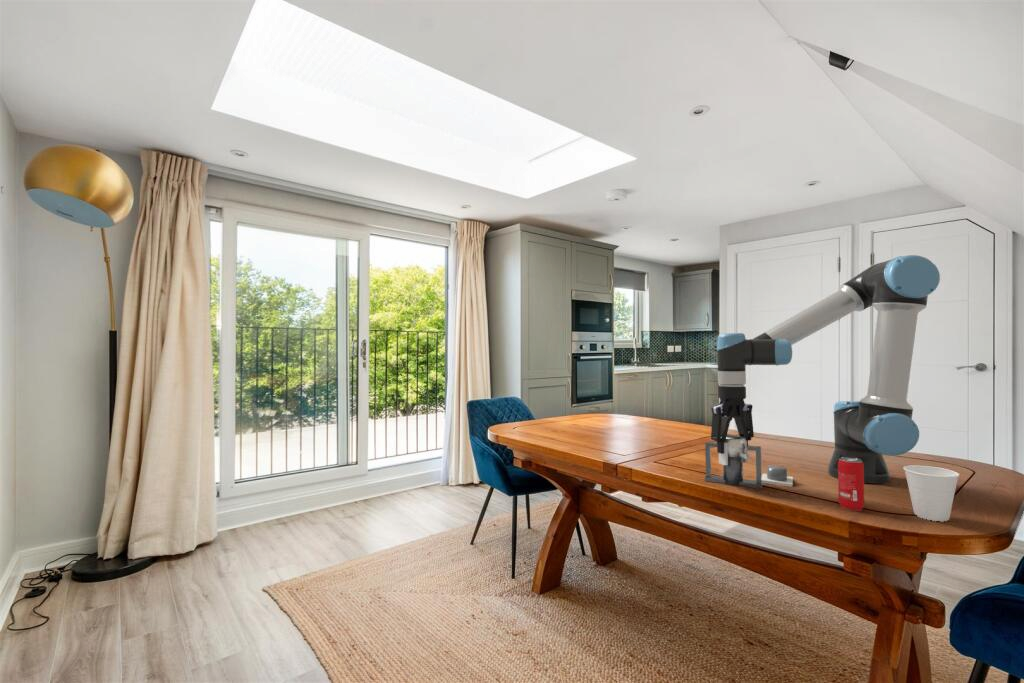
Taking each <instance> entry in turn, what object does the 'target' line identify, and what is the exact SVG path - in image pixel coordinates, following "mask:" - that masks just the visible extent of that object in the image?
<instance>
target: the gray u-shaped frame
mask: <svg viewBox="0 0 1024 683" xmlns="http://www.w3.org/2000/svg"><path fill="white" fill-rule="evenodd" d="M704 445H705V447H704V448H705V450H704V451H705V476H704V481H705V482H712V483H717V484H718V483H719V484H725V485H728V486H736V487H737V486H741V487H748V488H758V489H763V485H764V483H763V482H762V474H763V473H762V446H757V445H756V446H755V445H748V446H747V451H752V452H753V451H754V452H755V471H756V472H755V473H756V474H755V475H756V477H755V480H753V479H745V478H744V472H743V471H744V467H743V466H744V462H743V458H742V457H728V465H723V464H722V466H723V469H722V471H723V472H722V473H723V476H722V475H713V474H712V448H717V441H715V442H714V441H705V444H704Z"/></svg>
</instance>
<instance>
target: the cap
mask: <svg viewBox="0 0 1024 683" xmlns="http://www.w3.org/2000/svg"><path fill="white" fill-rule="evenodd" d="M721 438H722V437H721ZM725 442H726V443H728V457H742V458H745V459H747V460H748V459H750V453H748V452H747V453H746V441H745V438H744V437H741V436H739V435H732V434H729V433H727V436H726V440H725Z"/></svg>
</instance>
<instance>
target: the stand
mask: <svg viewBox="0 0 1024 683" xmlns="http://www.w3.org/2000/svg"><path fill="white" fill-rule="evenodd" d="M793 478H794V477H793V476H788V468H787V467H786V466H780V465H767V466H766V473H762V482H763V484H768V485H774V486H776V485H777V486H784V487H792V488H793V484H794V483H793V482H794V479H793Z"/></svg>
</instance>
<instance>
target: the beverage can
mask: <svg viewBox="0 0 1024 683" xmlns="http://www.w3.org/2000/svg"><path fill="white" fill-rule="evenodd" d="M837 480H838V482H837V484H838V489H837V490H838V503H839V505H840V507H841V508H843V509H845V510H849V511H855V512H859V511H862V510H863V508H864V507H865V483H864V464H863V463H862V460H860V459H856V458H848V457H842V458H839V461H838V478H837Z"/></svg>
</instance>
